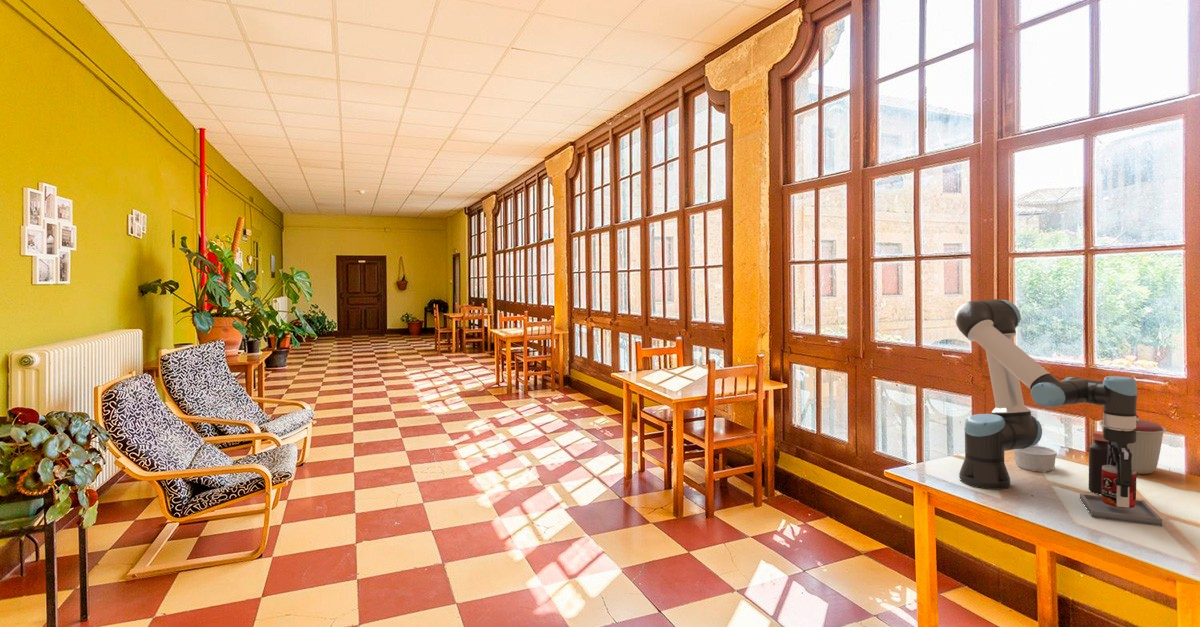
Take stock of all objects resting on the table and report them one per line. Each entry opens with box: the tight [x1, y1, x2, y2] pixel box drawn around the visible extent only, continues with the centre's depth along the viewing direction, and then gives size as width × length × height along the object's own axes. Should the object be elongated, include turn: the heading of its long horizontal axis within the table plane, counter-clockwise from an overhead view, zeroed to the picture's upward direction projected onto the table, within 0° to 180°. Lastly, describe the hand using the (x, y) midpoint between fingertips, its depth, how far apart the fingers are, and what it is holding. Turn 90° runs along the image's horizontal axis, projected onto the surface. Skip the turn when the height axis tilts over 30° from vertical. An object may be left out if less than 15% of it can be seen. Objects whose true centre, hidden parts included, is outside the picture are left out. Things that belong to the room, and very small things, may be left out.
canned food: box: [1100, 465, 1138, 508], centre depth 178 cm, size 8×8×11 cm
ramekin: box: [1012, 444, 1058, 473], centre depth 220 cm, size 13×13×7 cm
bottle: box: [1088, 430, 1108, 495], centre depth 193 cm, size 7×7×20 cm
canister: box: [1098, 413, 1167, 475], centre depth 214 cm, size 18×18×21 cm
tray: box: [1079, 493, 1163, 527], centre depth 178 cm, size 16×16×2 cm
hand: (1118, 501), depth 178 cm, fingers closed on canned food, 8 cm apart
